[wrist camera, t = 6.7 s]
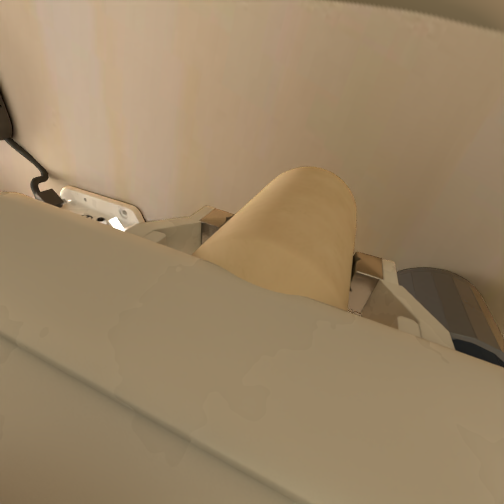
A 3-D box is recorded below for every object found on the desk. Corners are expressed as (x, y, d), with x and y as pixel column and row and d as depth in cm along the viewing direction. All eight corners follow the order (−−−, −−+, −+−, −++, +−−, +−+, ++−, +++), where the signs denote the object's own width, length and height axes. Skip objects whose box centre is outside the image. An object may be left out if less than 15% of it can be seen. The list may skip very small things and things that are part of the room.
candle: (309, 141, 13) (213, 220, 5) (380, 218, 13) (395, 395, 6) (246, 209, 16) (129, 319, 8) (305, 268, 17) (248, 422, 9)
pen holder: (352, 312, 32) (345, 373, 25) (405, 250, 26) (416, 309, 19) (434, 354, 31) (451, 432, 24) (512, 299, 24) (569, 384, 17)
